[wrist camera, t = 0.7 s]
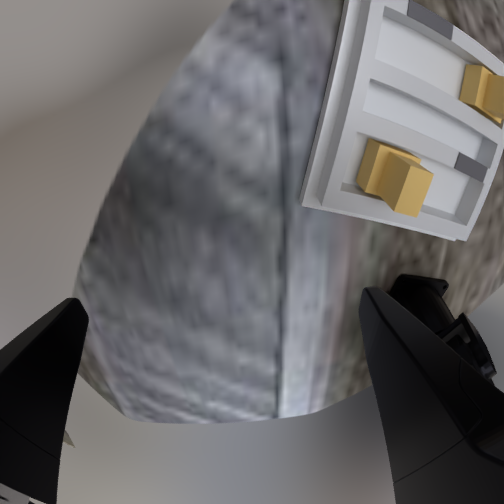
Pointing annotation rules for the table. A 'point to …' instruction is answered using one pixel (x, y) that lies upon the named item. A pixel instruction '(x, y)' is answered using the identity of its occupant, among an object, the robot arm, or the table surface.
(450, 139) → the switch bank
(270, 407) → the table surface
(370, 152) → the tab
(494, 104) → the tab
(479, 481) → the robot arm
